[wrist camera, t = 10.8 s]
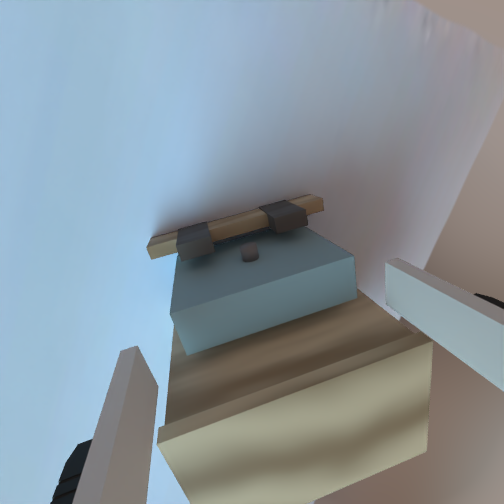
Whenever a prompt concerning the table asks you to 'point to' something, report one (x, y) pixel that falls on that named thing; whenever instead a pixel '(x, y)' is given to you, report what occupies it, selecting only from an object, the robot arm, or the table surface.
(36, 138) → the table surface
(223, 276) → the door
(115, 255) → the table surface
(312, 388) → the cabinet
